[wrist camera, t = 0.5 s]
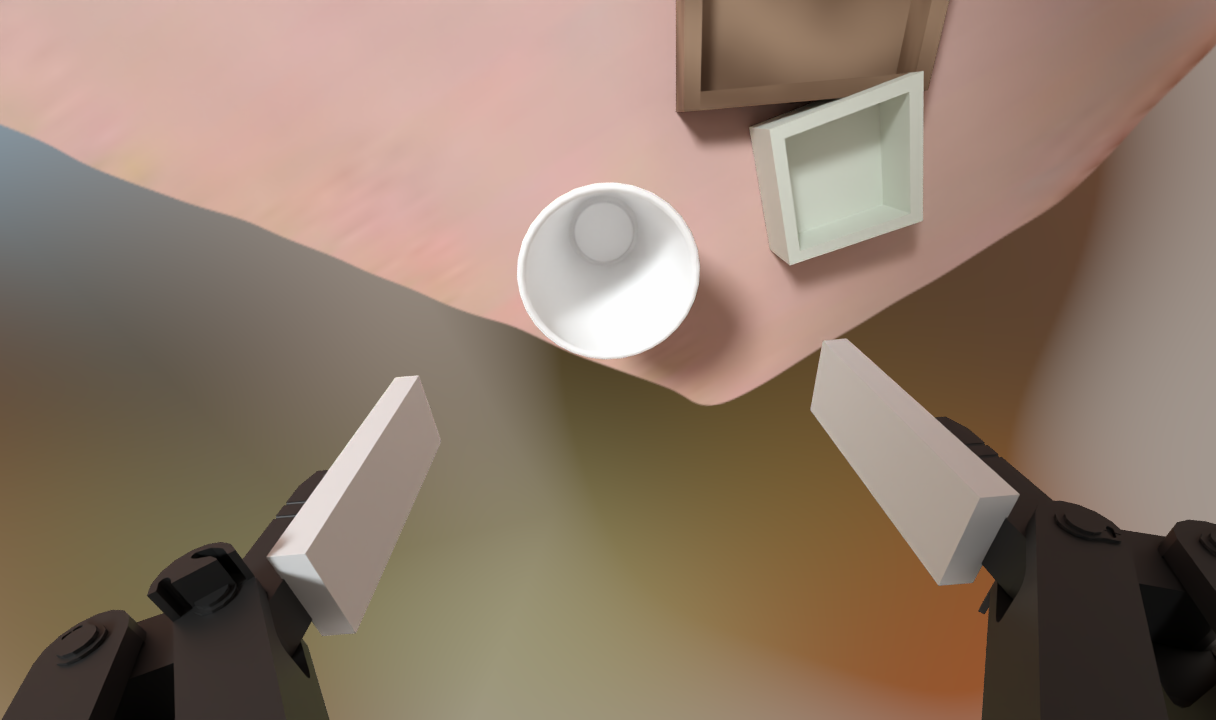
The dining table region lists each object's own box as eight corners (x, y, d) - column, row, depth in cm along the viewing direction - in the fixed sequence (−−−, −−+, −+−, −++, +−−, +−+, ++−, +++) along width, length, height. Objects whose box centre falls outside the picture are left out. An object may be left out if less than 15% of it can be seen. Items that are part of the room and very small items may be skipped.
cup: (663, 149, 31) (696, 167, 21) (673, 283, 36) (704, 347, 26) (523, 171, 31) (494, 199, 22) (552, 301, 36) (539, 371, 27)
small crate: (749, 127, 30) (769, 129, 27) (883, 75, 29) (923, 70, 26) (769, 249, 35) (789, 265, 31) (888, 209, 33) (922, 220, 30)
